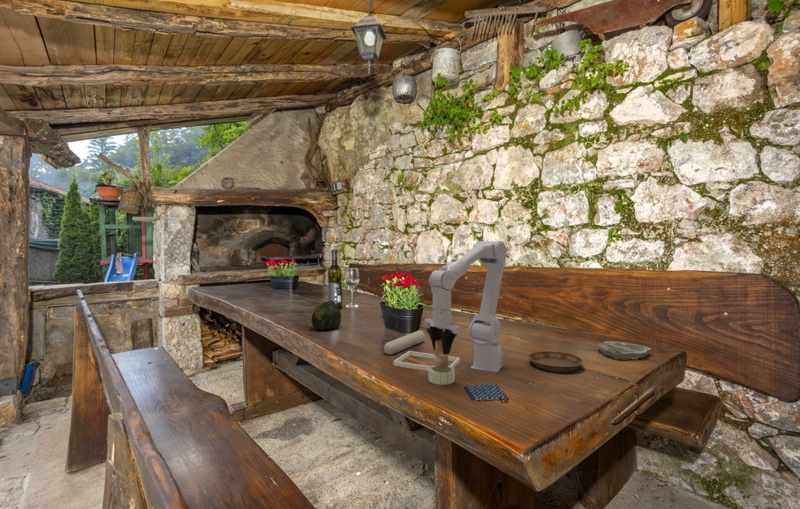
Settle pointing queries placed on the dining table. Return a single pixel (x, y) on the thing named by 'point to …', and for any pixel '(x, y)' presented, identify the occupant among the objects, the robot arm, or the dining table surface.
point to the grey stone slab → (623, 350)
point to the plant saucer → (555, 361)
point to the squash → (326, 316)
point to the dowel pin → (440, 356)
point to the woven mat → (485, 393)
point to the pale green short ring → (441, 375)
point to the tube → (404, 342)
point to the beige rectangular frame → (419, 354)
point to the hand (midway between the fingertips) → (441, 352)
